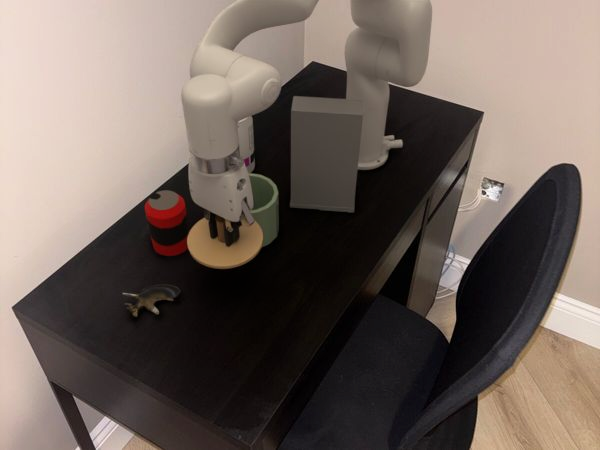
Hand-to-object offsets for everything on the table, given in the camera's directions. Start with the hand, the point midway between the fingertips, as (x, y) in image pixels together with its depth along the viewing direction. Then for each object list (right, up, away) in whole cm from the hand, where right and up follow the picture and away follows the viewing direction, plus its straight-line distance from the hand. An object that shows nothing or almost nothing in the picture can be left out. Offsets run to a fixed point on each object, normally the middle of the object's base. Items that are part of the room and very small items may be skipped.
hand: (225, 236), depth 105 cm
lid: (0, -1, +1) cm, 1 cm away
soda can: (-13, -2, +18) cm, 22 cm away
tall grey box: (+18, +7, +28) cm, 34 cm away
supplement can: (-2, +15, +36) cm, 39 cm away
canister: (+3, +1, +21) cm, 21 cm away
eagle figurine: (-14, -13, +6) cm, 20 cm away
